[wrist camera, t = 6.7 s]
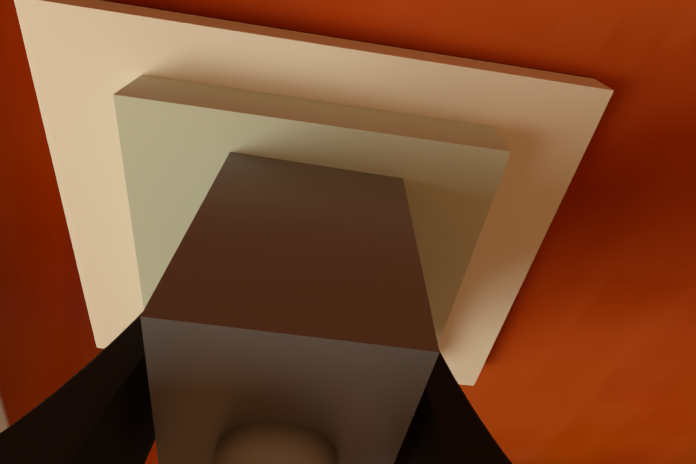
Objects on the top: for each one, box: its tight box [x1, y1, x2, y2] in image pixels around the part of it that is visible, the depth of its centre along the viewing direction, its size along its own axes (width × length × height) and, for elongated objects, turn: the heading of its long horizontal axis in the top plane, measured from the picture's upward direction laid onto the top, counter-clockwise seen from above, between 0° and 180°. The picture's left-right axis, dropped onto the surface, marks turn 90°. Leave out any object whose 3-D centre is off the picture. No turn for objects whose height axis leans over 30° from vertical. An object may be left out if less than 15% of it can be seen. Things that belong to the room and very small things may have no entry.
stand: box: [14, 0, 614, 386], centre depth 15 cm, size 13×16×3 cm
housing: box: [140, 152, 440, 464], centre depth 11 cm, size 5×7×7 cm, turn 170°
